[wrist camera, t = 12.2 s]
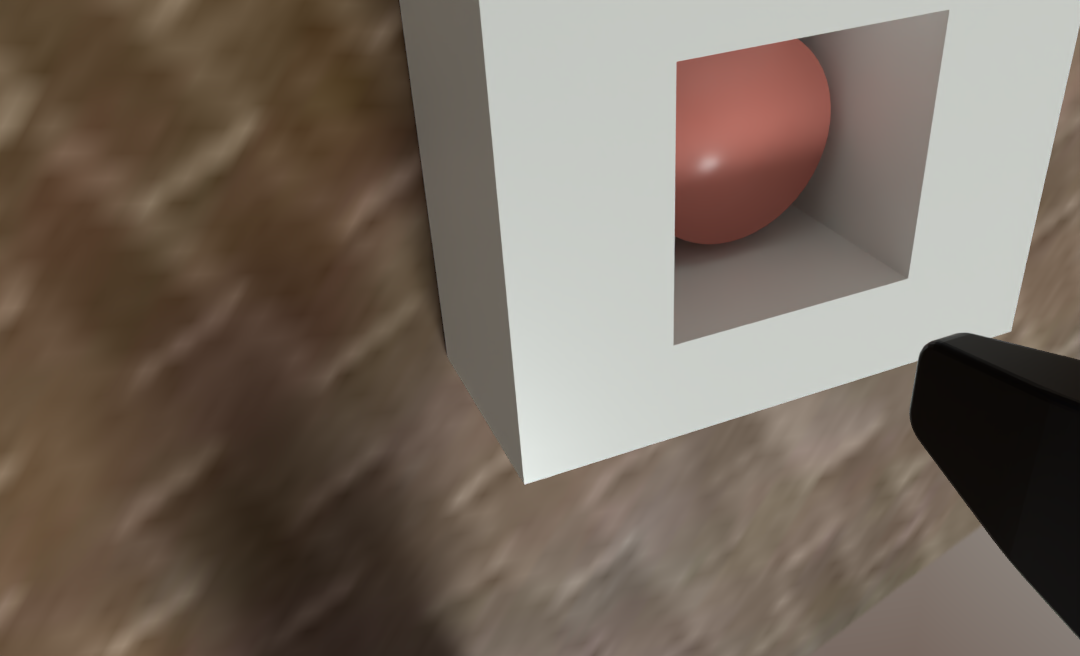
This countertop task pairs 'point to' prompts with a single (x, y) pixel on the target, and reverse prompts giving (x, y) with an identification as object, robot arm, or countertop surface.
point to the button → (746, 138)
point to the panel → (733, 267)
